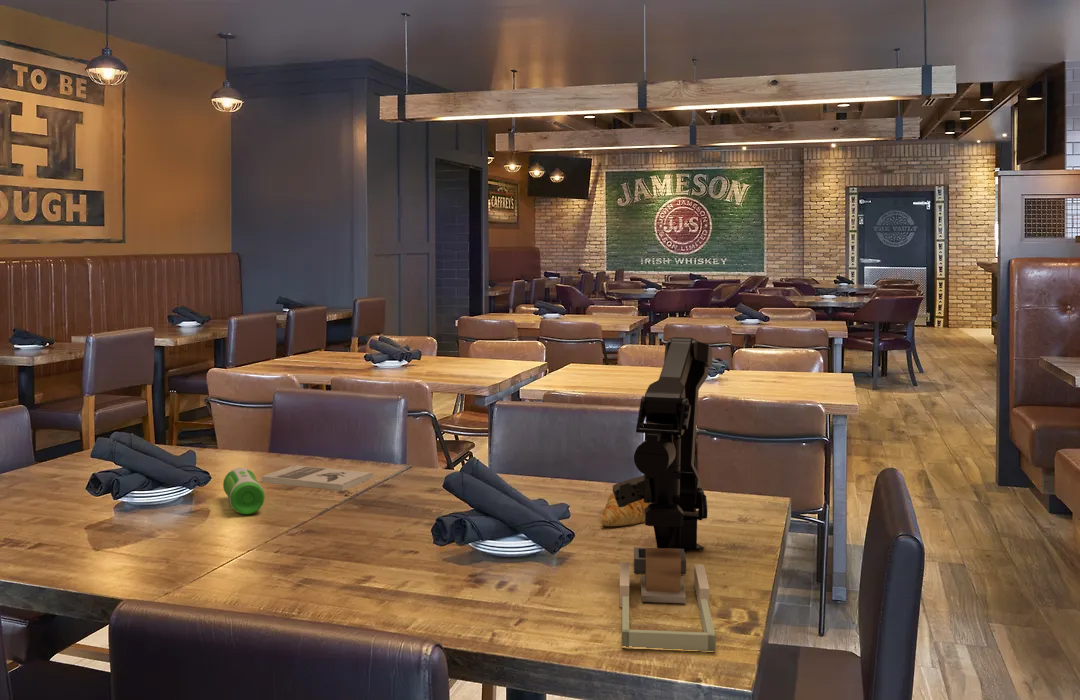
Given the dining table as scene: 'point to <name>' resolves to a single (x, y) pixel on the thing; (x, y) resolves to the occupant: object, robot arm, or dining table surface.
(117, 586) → the dining table surface
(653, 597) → the brown block on plate
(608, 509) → the croissant
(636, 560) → the tray
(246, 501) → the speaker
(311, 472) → the book
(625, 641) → the bay
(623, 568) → the channel
